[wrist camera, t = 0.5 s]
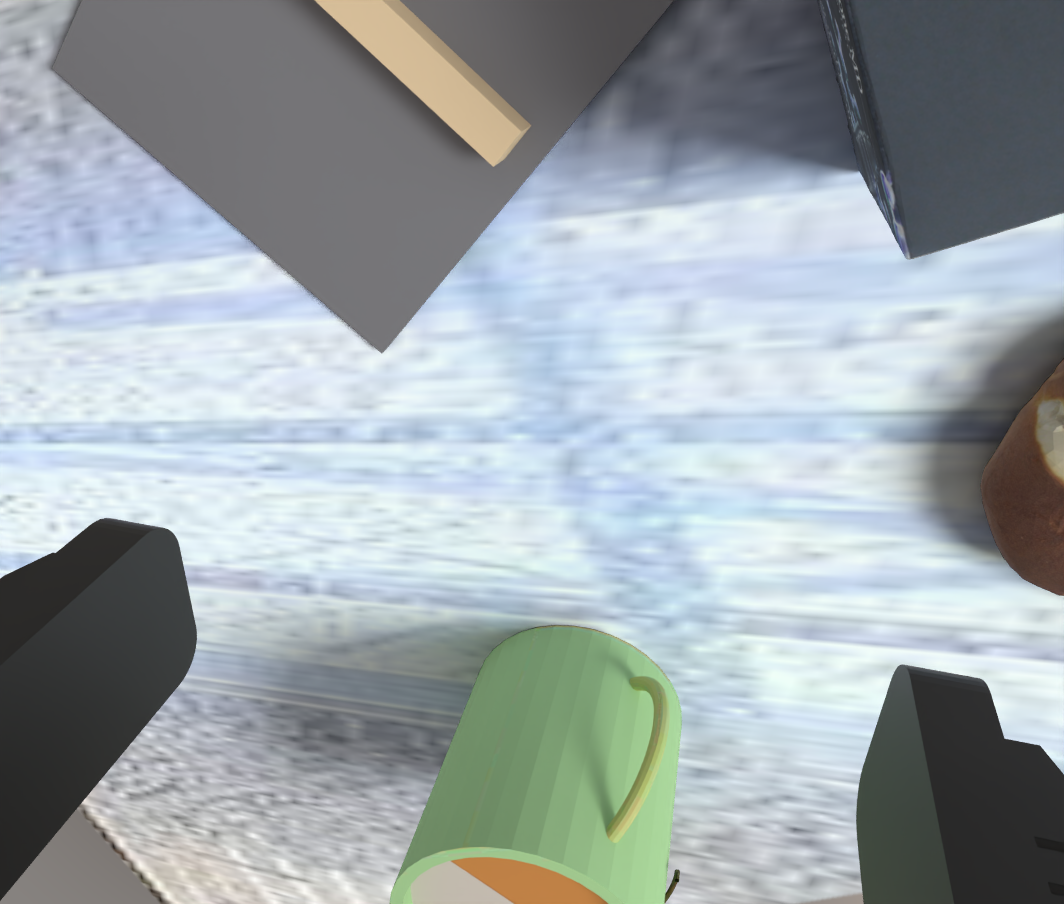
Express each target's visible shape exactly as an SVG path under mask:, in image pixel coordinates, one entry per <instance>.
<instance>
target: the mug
mask: <svg viewBox="0 0 1064 904" xmlns="http://www.w3.org/2000/svg"><path fill="white" fill-rule="evenodd" d="M681 725H682V722H681V708H680V704H679V700H678V696H677V694H676V692H675V690H674V688H673V686H672V684H671V682H670V680H669V679H668V678H667V676H666V675H665V674H664V673H663V671H662V670H661V669H660V667H659V666H657V665H656V664H655V663H654V662H653V661H652V660H651V659H650V658H649V657H648V656H647V655H645V654H644V653H643V652H641V651H640V650H638V649H637V648H635V647H634V646H632V645H631V644H629V643H627V642H625V641H623V640H621V639H619V638H617V637H614V636H612V635H609V634H606V633H603V632H600V631H597V630H594V629H589V628H583V627H577V626H561V625H553V626H545V627H536V628H533V629H530V630H526V631H523V632H520V633H518V634H516V635H514V636H512V637H510V638H508V639H506V640H504V641H503V642H502V643H501V644H499V645H498V646H497V647H496V648H494V649H493V651H492V652H491V653H490V654H489V656H488V657H487V658H486V659H485V661H484V663H483V665H482V668H481V670H480V672H479V674H478V677H477V679H476V682H475V684H474V687H473V689H472V692H471V694H470V697H469V699H468V702H467V704H466V707H465V709H464V712H463V714H462V717H461V719H460V722H459V724H458V727H457V729H456V732H455V734H454V737H453V739H452V742H451V744H450V747H449V749H448V752H447V754H446V757H445V759H444V762H443V764H442V767H441V769H440V772H439V774H438V777H437V779H436V782H435V784H434V787H433V789H432V792H431V794H430V797H429V799H428V802H427V804H426V807H425V809H424V812H423V814H422V817H421V819H420V822H419V824H418V827H417V829H416V832H415V834H414V837H413V839H412V842H411V844H410V847H409V849H408V852H407V854H406V857H405V859H404V862H403V864H402V867H401V869H400V872H399V874H398V877H397V879H396V882H395V884H394V887H393V889H392V892H391V897H390V904H665V902H666V901H667V900H668V898H669V897H670V895H671V894H672V892H673V890H674V889H675V887H676V884H677V882H679V875H680V871H679V870H675V873H674V878H673V880H672V883H671V885H670V887H669V889H668V890H667V892H666V894H665V891H666V881H667V870H668V860H669V850H670V839H671V829H672V819H673V808H674V798H675V788H676V777H677V767H678V757H679V746H680V736H681Z"/></svg>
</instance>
